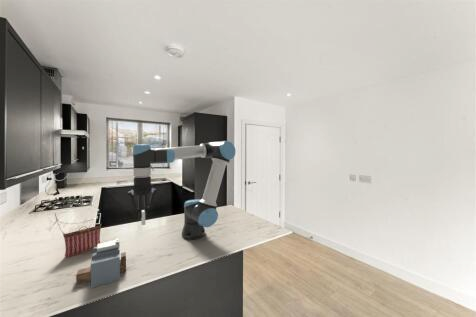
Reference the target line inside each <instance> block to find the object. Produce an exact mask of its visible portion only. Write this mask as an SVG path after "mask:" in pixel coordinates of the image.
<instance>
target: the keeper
mask: <svg viewBox="0 0 476 317" xmlns="http://www.w3.org/2000/svg"><path fill="white" fill-rule="evenodd" d="M119 238H120V237H115V240H109V241H105V242H100V243H99V244H98V245H97V254H98V253H102V252H107V251H111V250H116V249H119V245H120V241H119V240H120V239H119Z"/></svg>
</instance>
